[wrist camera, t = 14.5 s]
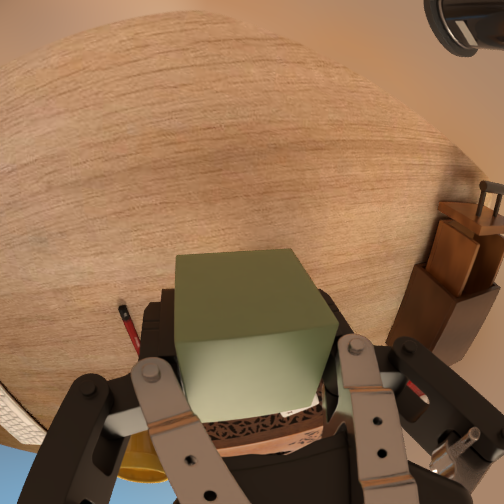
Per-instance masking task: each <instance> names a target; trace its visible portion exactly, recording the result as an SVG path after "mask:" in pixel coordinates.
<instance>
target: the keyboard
mask: <svg viewBox="0 0 504 504" xmlns="http://www.w3.org/2000/svg"><path fill="white" fill-rule="evenodd" d="M0 424H1V425H2V426H3V427H4V428H5V429H6V430H7V431H8V432H9V433H10V434H12V435H13V436H14V437H15V438H16V439H17V440H18V441H20V442H21V443H22V444H37V445H41V444H42V442H43V440H44V438H45V436H46V434H47V431H46V430H44V429H43V428H42V427H41V426H40V425H39V424H38V423H37V422H36V421H35V420H34V419H33V418H32V417H31V416H30V415H29V414H28V413H27V412H26V411H25V410H24V409H23V408H22V407H21V406H20V405H19V404H18V403H17V402H16V401H15V400H14V399H13V397H12V396H11V395H10V394H9V393H8V392H7V391H6V390H5V388H4V387H3V386H2V385H1V384H0Z"/></svg>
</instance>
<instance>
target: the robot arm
mask: <svg viewBox="0 0 504 504" xmlns="http://www.w3.org/2000/svg"><path fill="white" fill-rule="evenodd" d="M436 4H437V12H438V16H439V19H440V21H441V24H442V26H443V28H444V30H445V31H446V33H447V34H448V36H449V37H450V38H451V40H452V41H453V42H454V43H455V44H456V45H458V46H459V47H461V48H463V49H490V50H502V51H504V0H437V2H436ZM318 290H319V292H320V294H321V295H322V297H323V298H324V300H325V301H326V303H327V304H328V306H329V308H330V309H331V311H332V312H333V314H334V316H335V317H336V319H337V320H338V322H339V326H338V329H337V333H336V336H335V339H334V342H333V345H332V348H331V351H330V354H329V357H328V360H327V363H326V366H325V369H324V372H323V375H322V377H321V378H322V380H323V382H324V383H323V385H322V409H323V432H322V436H321V439H319V440H316V441H314V442H312V443H310V444H308V445H306V446H304V447H302V448H300V449H298V450H296V451H294V452H292V453H290V454H287V455H267V454H245V455H238V456H230V457H221V456H220V454H219V453H218V451H217V449H216V447H215V446H214V444H213V442H212V440H211V439H210V437H209V435H208V433H207V431H206V430H205V428H204V426H203V424H202V422H201V421H200V419H199V417H198V416H197V415H196V414H194V412H193V411H192V409H191V407H190V405H189V403H188V401H187V399H186V397H185V396H186V395H185V391H184V386H183V382H182V377H181V373H180V368H179V363H178V358H177V353H176V348H175V343H174V299H175V289H162V294H161V302H150V303H149V305H148V306H147V308H146V309H145V310H144V315H143V323H142V331H141V340H140V350H139V359H138V362H137V363H136V364H135V365H134V366H133V368H132V370H131V372H130V373H129V374H127V375H125V376H123V377H120V378H116V379H113V380H109V381H106V380H105V378H103V377H102V376H100V375H98V374H93V373H90V374H84V375H82V376H80V377H78V378H77V379H76V380H75V381H74V382H73V384H72V385H71V387H70V389H69V391H68V393H67V395H66V396H65V398H64V400H63V402H62V404H61V406H60V408H59V410H58V412H57V414H56V416H55V417H54V419H53V421H52V423H51V425H50V428H49V430H48V432H47V434H46V436H45V438H44V440H43V442H42V444H41V446H40V449H39V451H38V453H37V455H36V457H35V460H34V462H33V464H32V467H31V469H30V471H29V474H28V476H27V478H26V481H25V483H24V486H23V489H22V491H21V494H20V497H19V499H18V502H17V504H109V501H110V498H111V495H112V491H113V488H114V485H115V482H116V479H117V476H118V473H119V469H120V466H121V463H122V460H123V457H124V454H125V451H126V449H127V446H128V443H129V440H130V437H131V435H132V434H136V433H139V432H142V431H145V430H148V433H149V436H150V438H151V441H152V443H153V446H154V448H155V451H156V453H157V455H158V458H159V460H160V462H161V465H162V467H163V469H164V471H165V474H166V476H167V478H168V480H169V482H170V484H171V486H172V488H173V490H174V492H175V494H176V496H177V499H176V500H175V501H174V503H173V504H473V500H472V497H471V493H472V492H473V491H474V489H475V488H476V487H477V485H478V484H479V482H480V481H481V480H482V478H483V477H484V475H485V474H486V472H487V471H488V469H489V468H490V466H491V465H492V464H493V463H494V462H495V461H497V460H498V459H499V458H500V457H502V456H503V455H504V415H503V414H502V413H501V412H500V411H498V410H497V409H496V408H495V407H494V406H493V405H492V404H491V403H490V402H489V401H487V400H486V399H485V398H484V397H483V396H482V395H481V394H479V393H478V392H477V391H476V390H475V389H474V388H473V387H472V386H470V385H469V384H468V383H467V382H466V381H465V380H464V379H462V378H461V377H460V376H459V375H458V374H457V373H455V372H454V371H453V370H452V369H451V368H450V367H449V366H447V365H446V364H445V363H444V362H443V361H441V360H440V359H439V358H438V357H437V356H436V355H434V354H433V353H432V352H431V351H430V350H428V349H427V348H426V347H425V346H424V345H422V344H421V343H420V342H419V341H417V340H416V339H414V338H412V337H408V336H402V337H398V338H397V339H395V341H394V342H393V345H392V346H375V345H373V344H372V343H371V342H370V340H368V339H367V338H366V337H364V336H362V335H359V334H354V332H353V331H352V329H351V328H350V326H349V324H348V323H347V321H346V320H345V318H344V317H343V315H342V314H341V312H339V309H338V308H337V306H336V305H335V303H334V302H333V300H332V299H331V297H330V296H329V295H328V294H327V293H325V292H324V291H323V290H321V289H318ZM409 380H410V381H411V382H412V383H413V384H414V385H415V386H416V387H417V388H419V389H420V390H421V391H422V392H423V393H424V394H425V395H426V396H427V397H428V399H429V402H430V404H427V403H426V402H425V401H423V400H422V399H421V398H420V397H419V396H418V395H417V394H416V393H415V392H414V391H413V390H412V389H411V388H410V387H409V386H407V383H408V382H409ZM401 427H403V429H404V430H405V431H406V432H407V433H408V434H409V435H410V436H411V437H412V438H413V439H414V440H415V441H416V442H417V443H419V445H420V446H421V447H422V448H423V449H424V450H425V451H426V452H427V453H428V454H429V455H430V456H431V460H432V462H431V463H430V470H431V471H430V470H428V469H425V468H423V467H421V466H419V465H417V464H415V463H413V462H411V461H409V460H407V455H406V449H405V444H404V438H403V433H402V428H401ZM435 472H438V474H437V473H435Z"/></svg>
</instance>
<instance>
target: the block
mask: <svg viewBox="0 0 504 504" xmlns="http://www.w3.org/2000/svg"><path fill="white" fill-rule="evenodd" d="M338 326H339V322H338V320H337V319H336V317H335V316H334V314H333V312H332V311H331V309H330V308H329V306H328V304H327V303H326V301H325V300H324V298H323V297H322V295H321V294H320V292H319V290H318V289H317V287H316V286H315V284H314V283H313V281H312V280H311V278H310V276H309V275H308V273H307V272H306V270H305V269H304V267H303V266H302V264H301V263H300V261H299V260H298V258H297V257H296V255H295V254H294V252H293V250H292V249H290V248H289V249H272V250H255V251H238V252H221V253H204V254H187V255H176V265H175V299H174V343H175V348H176V353H177V358H178V363H179V368H180V373H181V377H182V382H183V386H184V391H185V395H186V399H187V401H188V403H189V405H190V407H191V409H192V411H193V412H194V414H196V415H197V416H198V417H199V419H200V421H201V422H202V423H206V422H217V421H227V420H235V419H243V418H250V417H257V416H264V415H270V414H275V413H281V412H286V411H291V410H296V409H301V408H305V407H310V406H311V404H312V402H313V399H314V396H315V394H316V391H317V388H318V386H319V383H320V380H321V377H322V375H323V372H324V369H325V366H326V363H327V360H328V357H329V354H330V351H331V348H332V345H333V342H334V339H335V336H336V333H337V329H338Z"/></svg>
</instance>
